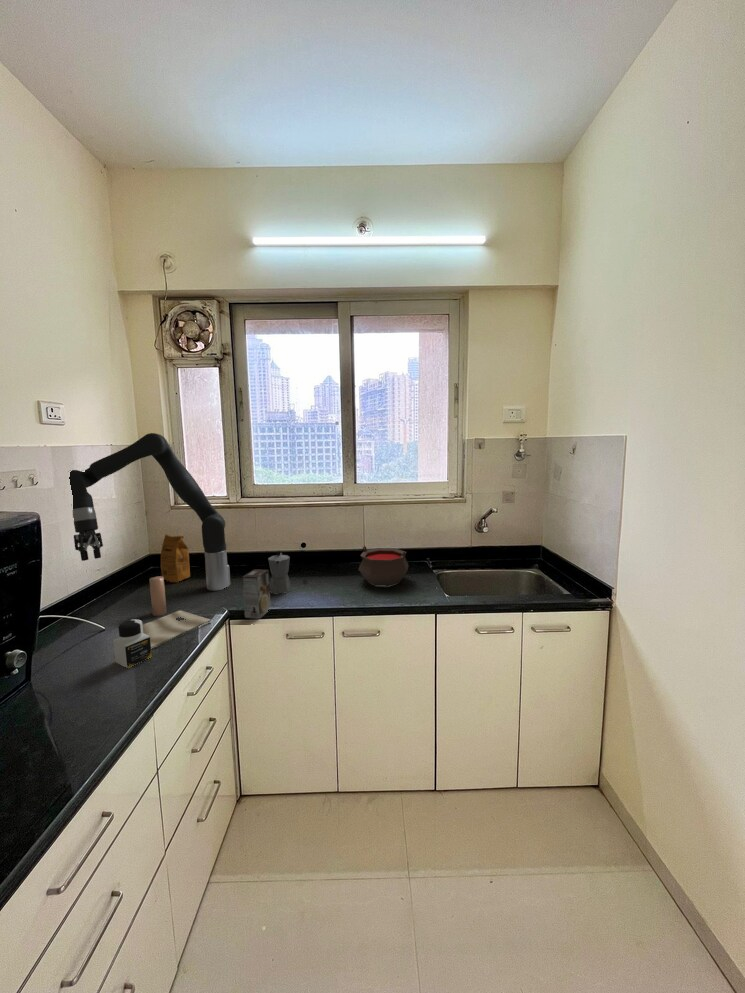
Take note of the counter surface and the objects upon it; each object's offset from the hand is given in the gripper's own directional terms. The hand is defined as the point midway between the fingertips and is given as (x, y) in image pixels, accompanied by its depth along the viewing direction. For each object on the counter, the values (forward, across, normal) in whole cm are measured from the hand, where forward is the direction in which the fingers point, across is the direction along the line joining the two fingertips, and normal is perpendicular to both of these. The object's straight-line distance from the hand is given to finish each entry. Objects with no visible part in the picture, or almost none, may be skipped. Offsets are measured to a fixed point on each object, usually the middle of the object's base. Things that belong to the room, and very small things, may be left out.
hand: (91, 559), depth 157 cm
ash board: (+29, -24, -34) cm, 50 cm away
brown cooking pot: (+36, +12, -116) cm, 122 cm away
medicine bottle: (+32, -43, -31) cm, 62 cm away
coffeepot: (+29, +10, -69) cm, 76 cm away
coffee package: (+17, +32, -18) cm, 41 cm away
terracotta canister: (+25, -9, -26) cm, 37 cm away
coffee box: (+32, -14, -63) cm, 72 cm away
